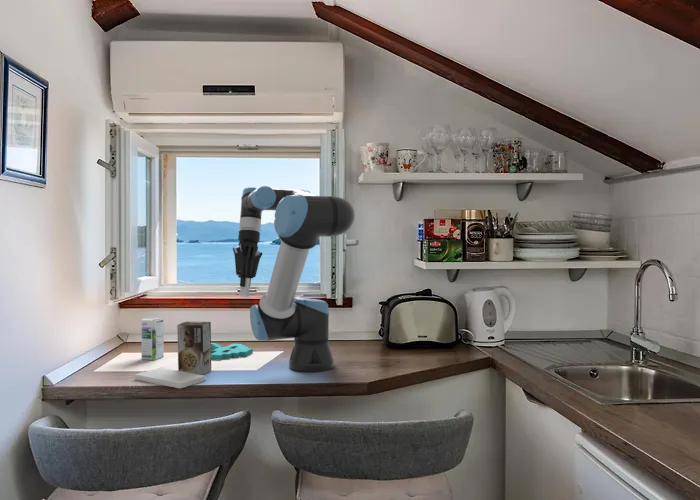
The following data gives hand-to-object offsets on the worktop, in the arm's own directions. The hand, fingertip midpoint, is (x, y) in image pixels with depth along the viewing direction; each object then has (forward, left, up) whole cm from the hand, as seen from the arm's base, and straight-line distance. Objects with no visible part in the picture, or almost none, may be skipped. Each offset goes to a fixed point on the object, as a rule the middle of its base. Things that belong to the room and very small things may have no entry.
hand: (244, 296), depth 190 cm
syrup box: (+32, +13, -23) cm, 42 cm away
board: (+3, +30, -23) cm, 38 cm away
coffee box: (+4, +19, -23) cm, 30 cm away
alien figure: (+15, -6, -24) cm, 29 cm away
